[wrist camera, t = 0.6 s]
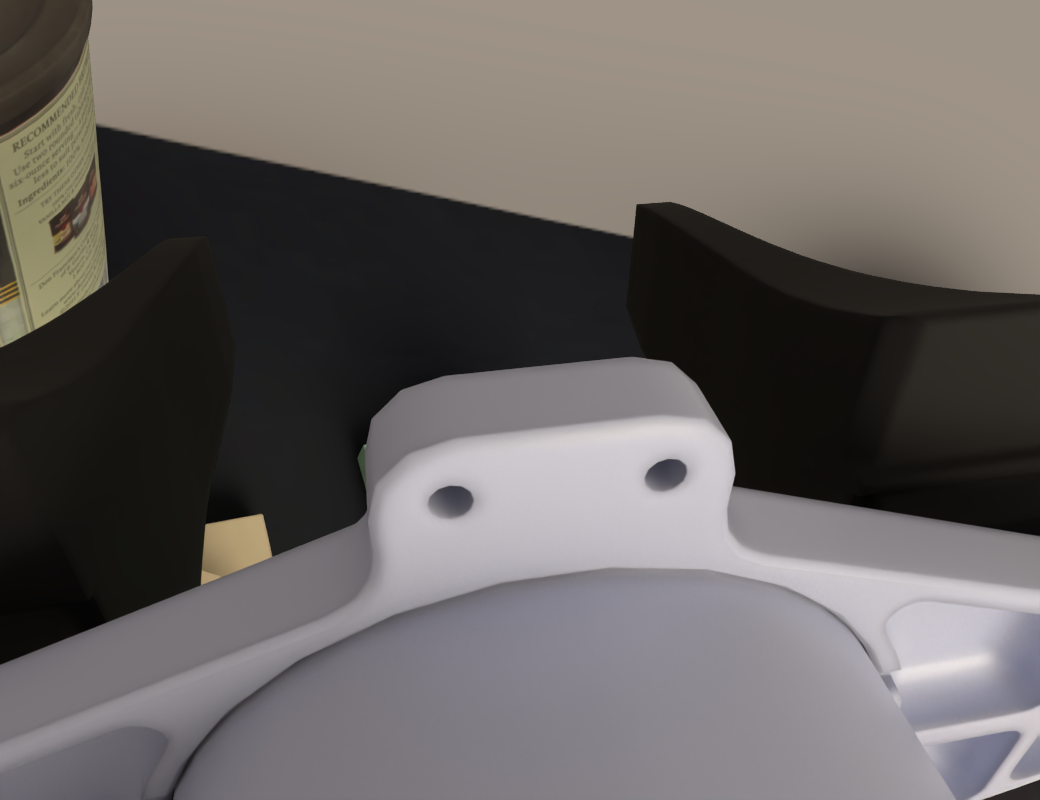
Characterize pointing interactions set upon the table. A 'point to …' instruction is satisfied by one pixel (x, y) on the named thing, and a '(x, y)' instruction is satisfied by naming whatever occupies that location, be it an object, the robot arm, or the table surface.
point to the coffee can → (47, 165)
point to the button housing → (233, 546)
